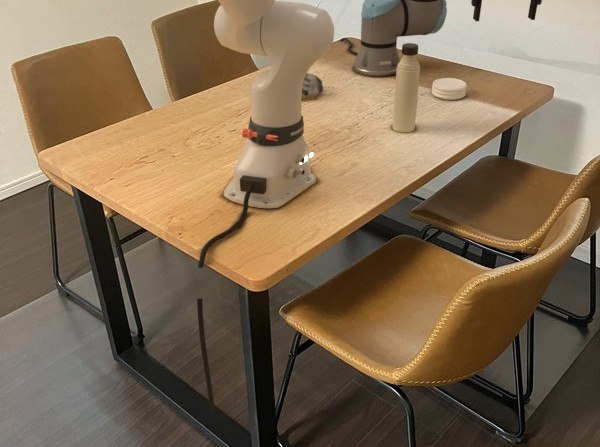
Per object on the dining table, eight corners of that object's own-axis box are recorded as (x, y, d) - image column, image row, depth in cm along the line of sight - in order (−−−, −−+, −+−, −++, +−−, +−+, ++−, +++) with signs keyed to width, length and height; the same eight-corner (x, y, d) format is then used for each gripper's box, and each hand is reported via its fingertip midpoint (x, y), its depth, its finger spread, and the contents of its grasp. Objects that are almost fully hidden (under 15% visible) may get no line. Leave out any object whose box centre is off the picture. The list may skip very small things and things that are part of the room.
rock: (327, 94, 187) (327, 70, 183) (303, 102, 181) (302, 79, 177) (294, 83, 196) (293, 61, 192) (270, 91, 190) (268, 68, 186)
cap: (404, 50, 157) (405, 42, 156) (419, 52, 156) (420, 44, 155) (399, 54, 154) (400, 46, 153) (415, 56, 153) (415, 48, 152)
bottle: (396, 122, 169) (402, 42, 157) (417, 125, 167) (425, 45, 155) (389, 130, 165) (395, 48, 153) (410, 134, 162) (418, 51, 151)
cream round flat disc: (427, 89, 189) (428, 78, 188) (459, 87, 190) (460, 76, 188) (437, 101, 181) (438, 89, 179) (470, 99, 182) (471, 88, 180)
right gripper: (468, -74, 137) (456, 24, 148) (580, -76, 137) (560, 22, 149) (459, -78, 143) (449, 16, 154) (566, -80, 143) (548, 14, 155)
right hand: (503, 19), depth 151 cm, fingers open, 13 cm apart
